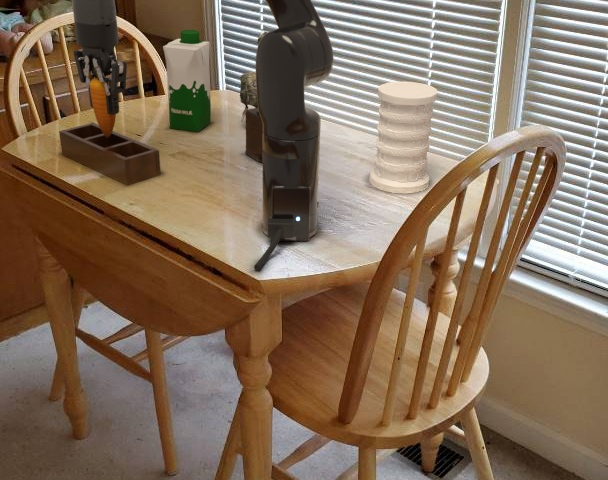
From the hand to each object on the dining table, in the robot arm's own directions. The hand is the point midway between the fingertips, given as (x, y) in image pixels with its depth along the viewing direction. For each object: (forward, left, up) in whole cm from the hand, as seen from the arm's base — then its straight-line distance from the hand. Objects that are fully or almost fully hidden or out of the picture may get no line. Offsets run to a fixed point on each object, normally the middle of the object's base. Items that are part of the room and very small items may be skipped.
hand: (105, 110), depth 155 cm
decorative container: (-7, -57, -11) cm, 59 cm away
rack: (0, 0, -11) cm, 11 cm away
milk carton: (+25, -14, -11) cm, 30 cm away
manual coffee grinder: (+4, -35, -11) cm, 37 cm away
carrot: (0, 0, -6) cm, 6 cm away
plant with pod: (+26, -30, -11) cm, 41 cm away
